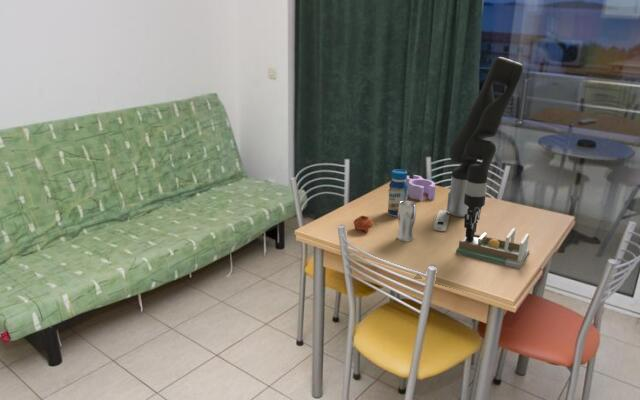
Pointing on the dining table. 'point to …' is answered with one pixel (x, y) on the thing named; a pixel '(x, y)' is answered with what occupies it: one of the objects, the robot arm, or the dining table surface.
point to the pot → (363, 223)
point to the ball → (493, 243)
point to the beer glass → (406, 220)
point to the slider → (475, 240)
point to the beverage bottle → (397, 191)
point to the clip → (420, 188)
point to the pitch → (498, 250)
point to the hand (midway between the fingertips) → (470, 234)
